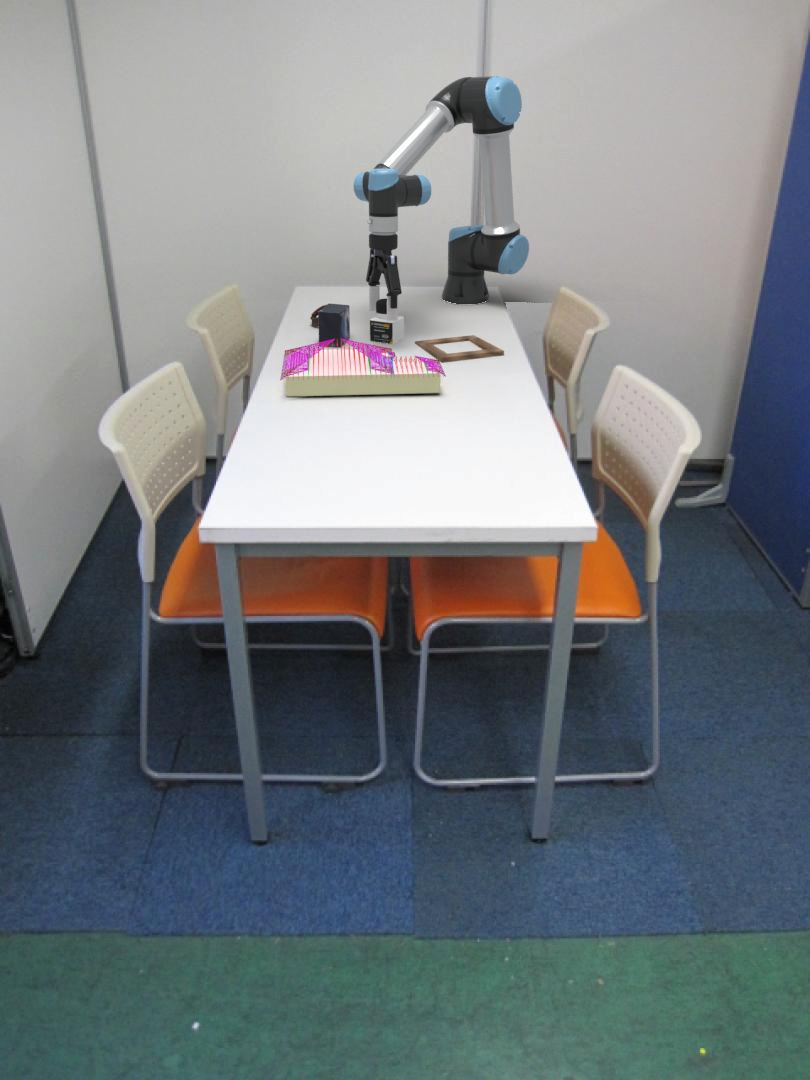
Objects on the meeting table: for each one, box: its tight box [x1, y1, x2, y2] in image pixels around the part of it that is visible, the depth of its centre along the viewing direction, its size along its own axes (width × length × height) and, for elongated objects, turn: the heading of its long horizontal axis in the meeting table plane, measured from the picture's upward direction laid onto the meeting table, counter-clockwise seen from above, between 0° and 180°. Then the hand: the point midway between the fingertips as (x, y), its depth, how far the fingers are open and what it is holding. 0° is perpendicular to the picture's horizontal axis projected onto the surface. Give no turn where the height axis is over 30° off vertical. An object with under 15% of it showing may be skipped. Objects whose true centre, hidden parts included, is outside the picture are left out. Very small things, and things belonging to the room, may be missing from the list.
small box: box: [317, 303, 351, 349], centre depth 238 cm, size 11×6×10 cm, turn 168°
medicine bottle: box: [369, 298, 405, 345], centre depth 240 cm, size 7×7×12 cm
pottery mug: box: [309, 303, 329, 328], centre depth 255 cm, size 12×9×8 cm
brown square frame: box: [414, 334, 505, 364], centre depth 235 cm, size 18×18×2 cm
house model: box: [279, 339, 447, 397], centre depth 211 cm, size 38×25×10 cm
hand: (383, 315), depth 237 cm, fingers open, 13 cm apart
